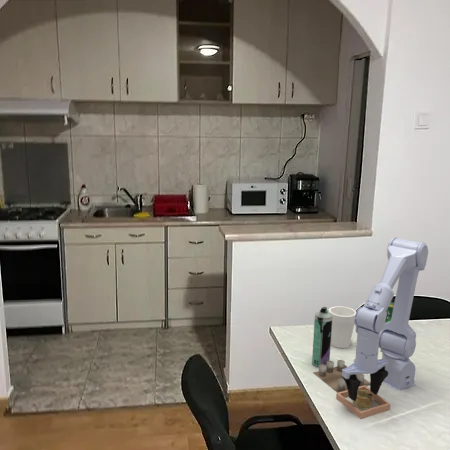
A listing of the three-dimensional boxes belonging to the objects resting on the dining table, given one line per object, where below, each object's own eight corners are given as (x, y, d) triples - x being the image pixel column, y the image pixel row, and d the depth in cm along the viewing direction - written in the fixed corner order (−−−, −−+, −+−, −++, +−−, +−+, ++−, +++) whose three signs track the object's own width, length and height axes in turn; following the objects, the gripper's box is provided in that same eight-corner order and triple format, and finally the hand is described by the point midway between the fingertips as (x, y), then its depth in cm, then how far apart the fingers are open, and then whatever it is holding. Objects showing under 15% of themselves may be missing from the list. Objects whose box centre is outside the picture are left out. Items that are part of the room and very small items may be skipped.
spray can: (329, 370, 146) (333, 311, 142) (311, 368, 147) (315, 310, 143) (328, 362, 151) (332, 305, 147) (312, 360, 152) (315, 303, 148)
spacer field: (372, 386, 137) (373, 375, 137) (338, 395, 132) (339, 384, 131) (344, 366, 149) (345, 356, 148) (312, 374, 144) (313, 363, 143)
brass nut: (362, 397, 131) (363, 387, 130) (375, 406, 126) (376, 397, 126) (350, 400, 129) (350, 391, 128) (362, 410, 125) (363, 400, 124)
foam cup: (356, 352, 158) (359, 317, 155) (329, 351, 158) (331, 316, 156) (349, 340, 167) (352, 306, 165) (324, 339, 168) (326, 305, 165)
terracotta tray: (389, 411, 125) (390, 404, 125) (360, 420, 121) (361, 413, 121) (364, 391, 134) (364, 385, 134) (335, 400, 130) (336, 393, 130)
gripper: (377, 339, 131) (373, 382, 134) (336, 349, 125) (332, 394, 128) (395, 350, 125) (391, 395, 127) (353, 360, 119) (349, 408, 121)
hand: (363, 395), depth 127 cm, fingers open, 7 cm apart
